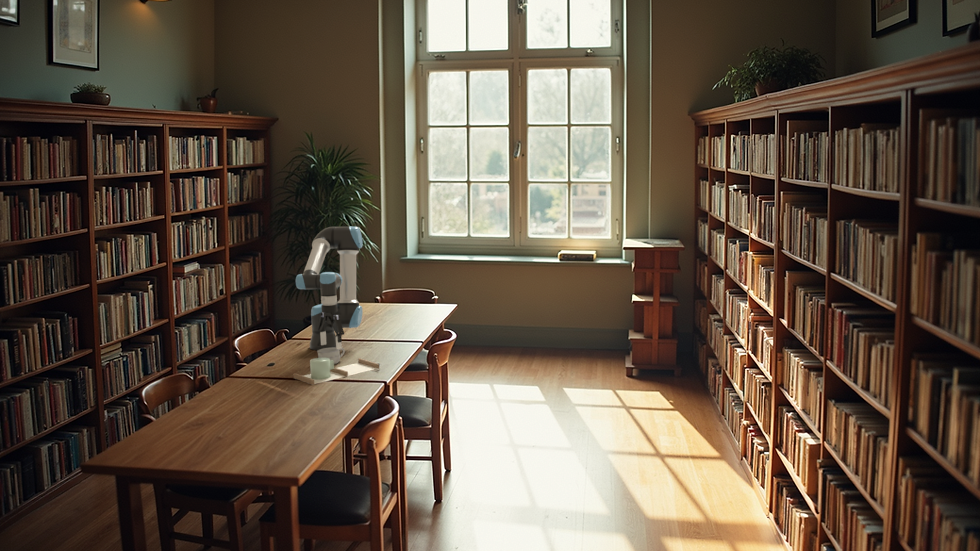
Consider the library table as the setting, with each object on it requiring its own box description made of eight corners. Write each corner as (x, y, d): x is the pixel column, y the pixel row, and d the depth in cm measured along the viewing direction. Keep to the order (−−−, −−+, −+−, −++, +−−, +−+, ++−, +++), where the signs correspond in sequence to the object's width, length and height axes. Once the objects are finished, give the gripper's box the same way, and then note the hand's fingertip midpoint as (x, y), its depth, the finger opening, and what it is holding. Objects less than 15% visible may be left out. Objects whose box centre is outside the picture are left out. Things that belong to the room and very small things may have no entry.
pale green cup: (307, 377, 387) (306, 360, 386) (328, 372, 395) (327, 355, 394) (317, 380, 381) (316, 363, 380) (339, 375, 389) (338, 358, 388)
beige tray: (293, 380, 387) (293, 373, 386) (360, 364, 412) (359, 358, 411) (312, 386, 375) (312, 380, 375) (379, 370, 400) (379, 363, 400)
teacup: (321, 369, 405) (320, 353, 403) (315, 364, 414) (314, 348, 413) (349, 365, 411) (348, 349, 410) (342, 360, 420) (341, 344, 419)
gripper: (308, 302, 414) (311, 344, 417) (336, 308, 396) (339, 351, 399) (321, 300, 419) (323, 341, 422) (350, 305, 401) (352, 349, 404)
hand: (331, 346), depth 411 cm, fingers open, 13 cm apart
